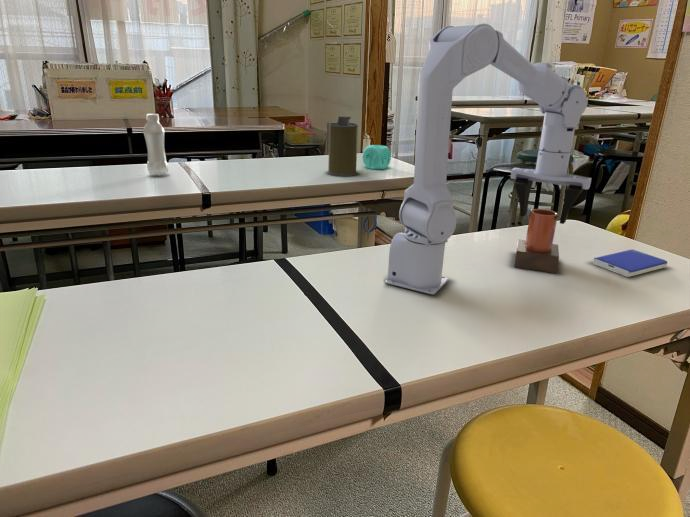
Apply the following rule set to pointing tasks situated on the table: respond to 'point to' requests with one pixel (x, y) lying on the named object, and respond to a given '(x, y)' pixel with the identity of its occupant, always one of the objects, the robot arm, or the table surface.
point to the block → (536, 258)
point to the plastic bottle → (155, 146)
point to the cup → (541, 230)
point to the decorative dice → (376, 157)
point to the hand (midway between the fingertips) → (542, 218)
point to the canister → (342, 147)
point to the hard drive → (630, 262)
